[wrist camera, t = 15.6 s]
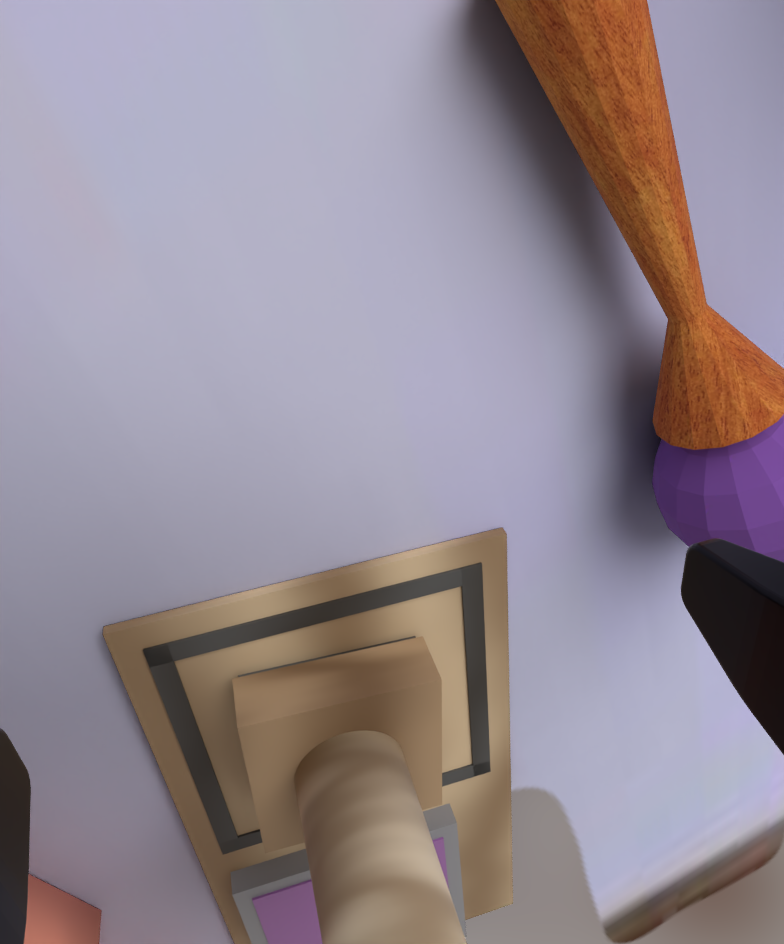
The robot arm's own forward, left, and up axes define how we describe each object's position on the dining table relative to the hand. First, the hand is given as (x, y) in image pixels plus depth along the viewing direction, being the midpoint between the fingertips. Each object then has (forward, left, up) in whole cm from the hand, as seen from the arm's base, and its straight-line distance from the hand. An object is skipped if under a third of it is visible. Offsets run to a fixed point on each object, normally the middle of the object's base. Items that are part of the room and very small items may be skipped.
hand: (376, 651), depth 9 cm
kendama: (+12, -1, -14) cm, 18 cm away
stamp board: (0, -21, -13) cm, 25 cm away
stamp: (0, -16, -13) cm, 20 cm away
